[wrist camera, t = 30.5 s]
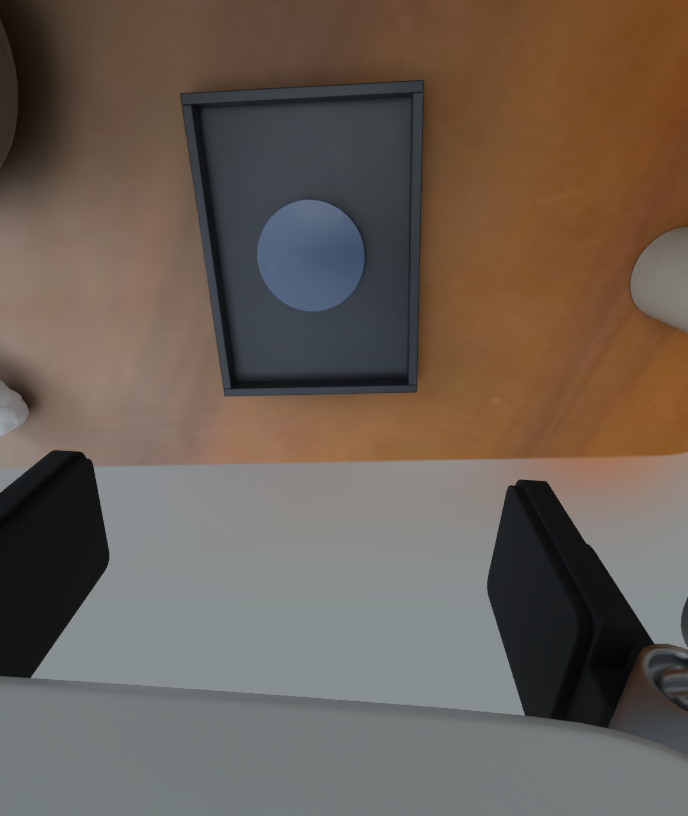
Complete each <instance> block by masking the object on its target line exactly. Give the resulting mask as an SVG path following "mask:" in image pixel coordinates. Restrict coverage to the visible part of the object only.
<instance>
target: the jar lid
mask: <svg viewBox="0 0 688 816" xmlns="http://www.w3.org/2000/svg"><path fill="white" fill-rule="evenodd" d="M361 233H362V232H361V231H360V230H359V228H358V227H357V225H356V223H355V222H354V220H353V219H352V218H351V217H350V216H349V213H346V212H345V211H344V210H343V209H341V208H340V207H338V206H336V205H335V204H332V203H331V201H328V202H327V201H323V200H318V199H310V198H306V199H305V200H298V201H294V202H292V203H286V204H285V206H283V207H282V208H280V209H279V210H277V211H276V212H275V213H274V214H273V215H272V216H271V217H269V220H268V221H267V222H266V224H265V226H264V227H263V230H262V232H261V234H260V237H259V241H258V248H257V260H258V266H259V270H260V273H261V276H262V278H263V280H264V282H265V284H266V286H267V287H268V289H269V290H270V291H271V292H272V293H273V295H274V296H275V297H277V298H278V299H279V300H280V301H281V302H283V303H284V304H286V305H288V306H290V307H292V308H295V309H297V310H301V311H308V312H319V311H324V310H328V309H331V308H333V307H336V306H337V305H339V304H341V303H342V302H344V301H345V300H346V299H347V298H348V297H349V296H350V295H352V293H353V292H354V290H355V289H356V287H357V286H358V284H359V282H360V280H361V277H363V270H364V264H365V256H366V252H365V248H364V242H363V238H362V235H361Z"/></svg>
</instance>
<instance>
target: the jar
mask: <svg viewBox="0 0 688 816" xmlns="http://www.w3.org/2000/svg"><path fill="white" fill-rule="evenodd" d="M630 288H631V295H632V298H633V301H634V303H635V305H636V306H637V307H638V309H639V310H640V311H641V312H642V313H643V314H645V315H646V316H648V317H650V318H653V319H655V320H657V321H660V322H662V323H664V324H667V325H669V326H671V327H674V328H676V329H678V330H681V331H683V332H685V333H688V226H683V227H679V228H675V229H673V230H670V231H668V232H666V233H664V234H662V235H661V236H659V237H658V238H656V239H655V240H654V241H653V242H651V243H650V244H649V245H648V246H647V247H646V248H645V250H644V251H643V252H642V253H641V255H640V256H639V258H638V260H637V262H636V264H635V266H634V268H633V271H632V275H631V282H630Z"/></svg>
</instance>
